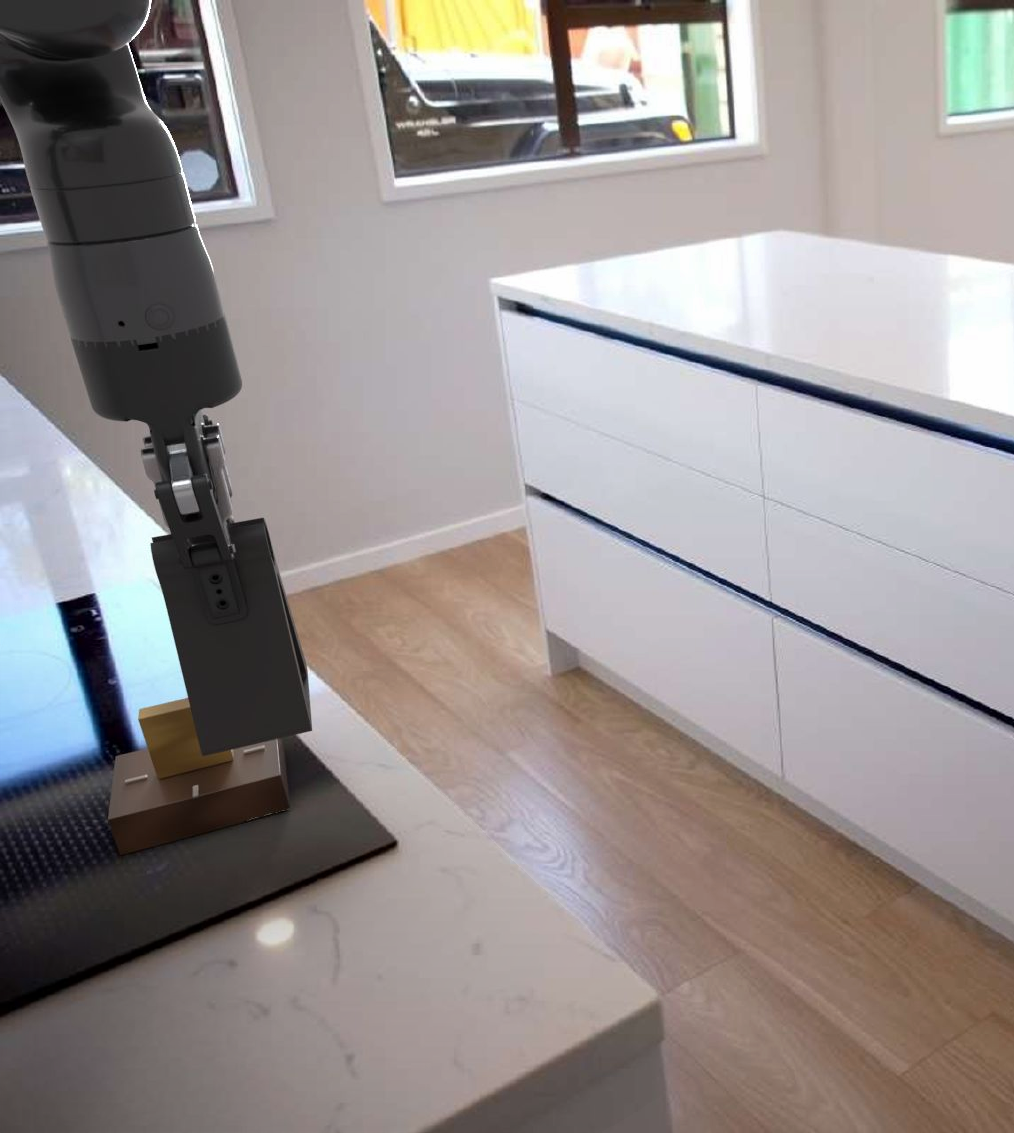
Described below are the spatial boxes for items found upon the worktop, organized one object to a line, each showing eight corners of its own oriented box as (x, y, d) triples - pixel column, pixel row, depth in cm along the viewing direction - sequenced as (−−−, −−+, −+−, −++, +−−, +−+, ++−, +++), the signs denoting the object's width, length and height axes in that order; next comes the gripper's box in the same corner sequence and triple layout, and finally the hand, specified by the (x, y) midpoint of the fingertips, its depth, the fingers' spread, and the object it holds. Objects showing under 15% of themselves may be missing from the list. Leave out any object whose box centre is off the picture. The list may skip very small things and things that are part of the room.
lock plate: (120, 856, 88) (106, 818, 87) (127, 789, 96) (115, 753, 95) (290, 810, 92) (280, 773, 91) (284, 749, 100) (274, 714, 99)
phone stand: (312, 733, 76) (263, 547, 71) (201, 758, 74) (144, 569, 69) (308, 667, 84) (264, 495, 79) (208, 689, 82) (156, 514, 77)
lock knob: (157, 779, 91) (136, 716, 89) (158, 768, 93) (137, 705, 91) (233, 760, 93) (215, 697, 91) (233, 750, 95) (215, 687, 92)
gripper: (80, 303, 73) (163, 577, 81) (53, 358, 62) (153, 674, 69) (222, 285, 76) (290, 552, 83) (223, 334, 64) (303, 641, 71)
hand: (228, 606), depth 76 cm, fingers closed on phone stand, 3 cm apart
